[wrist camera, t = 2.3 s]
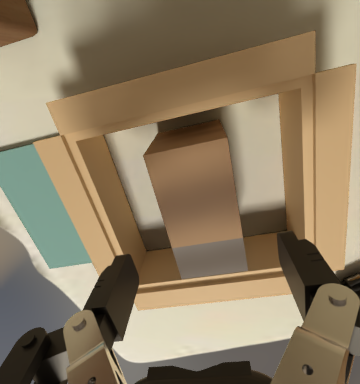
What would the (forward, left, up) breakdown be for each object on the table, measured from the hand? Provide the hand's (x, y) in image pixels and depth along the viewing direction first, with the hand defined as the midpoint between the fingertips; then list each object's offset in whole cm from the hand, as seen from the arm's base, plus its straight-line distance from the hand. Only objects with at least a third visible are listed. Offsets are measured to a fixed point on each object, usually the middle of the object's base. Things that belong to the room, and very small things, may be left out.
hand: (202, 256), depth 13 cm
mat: (0, -14, -9) cm, 17 cm away
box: (0, 0, -9) cm, 9 cm away
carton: (0, 0, -9) cm, 9 cm away
